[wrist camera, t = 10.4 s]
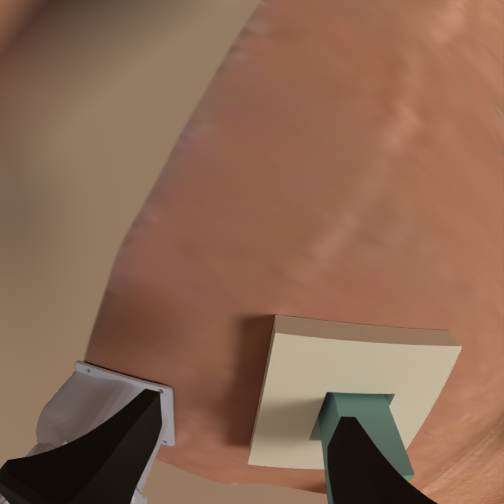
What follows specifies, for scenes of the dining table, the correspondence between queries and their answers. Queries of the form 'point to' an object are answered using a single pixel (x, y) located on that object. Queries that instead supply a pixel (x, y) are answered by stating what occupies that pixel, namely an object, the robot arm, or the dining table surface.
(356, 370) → the keyed socket plate
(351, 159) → the dining table surface
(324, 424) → the teal square peg
